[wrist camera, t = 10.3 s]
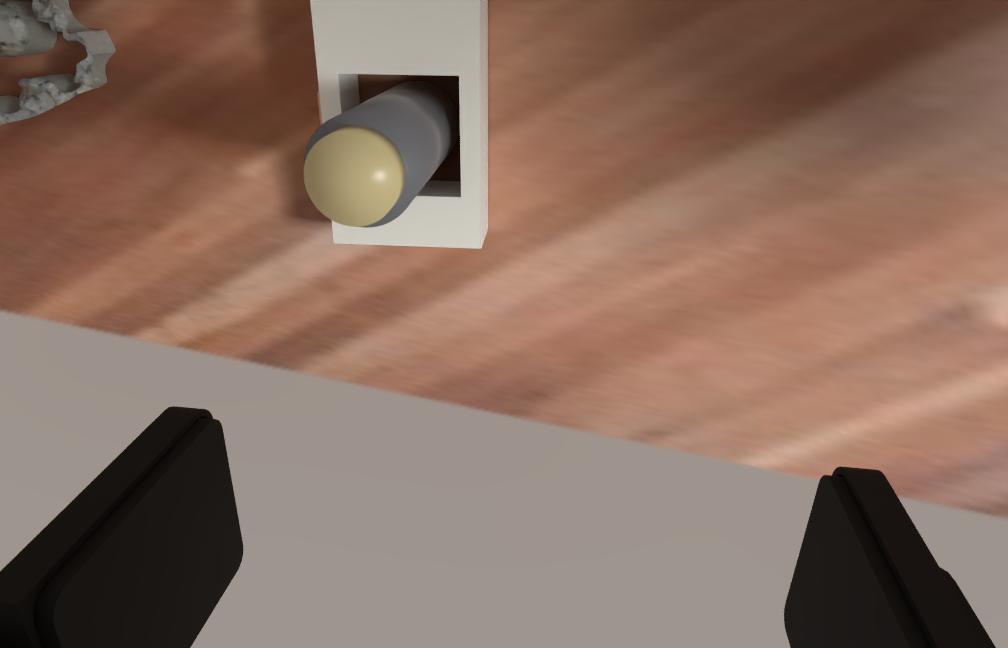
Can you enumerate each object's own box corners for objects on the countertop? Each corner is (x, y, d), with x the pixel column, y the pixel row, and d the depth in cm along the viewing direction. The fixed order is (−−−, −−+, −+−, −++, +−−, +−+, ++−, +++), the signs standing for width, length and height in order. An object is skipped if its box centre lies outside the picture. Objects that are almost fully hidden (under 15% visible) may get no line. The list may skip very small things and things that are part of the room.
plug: (458, 81, 32) (407, 120, 22) (459, 167, 34) (412, 240, 24) (373, 79, 33) (284, 117, 23) (378, 165, 34) (298, 235, 24)
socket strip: (487, -274, 27) (478, -305, 24) (487, 229, 35) (481, 248, 33) (304, -271, 27) (275, -300, 25) (348, 224, 36) (329, 243, 33)
